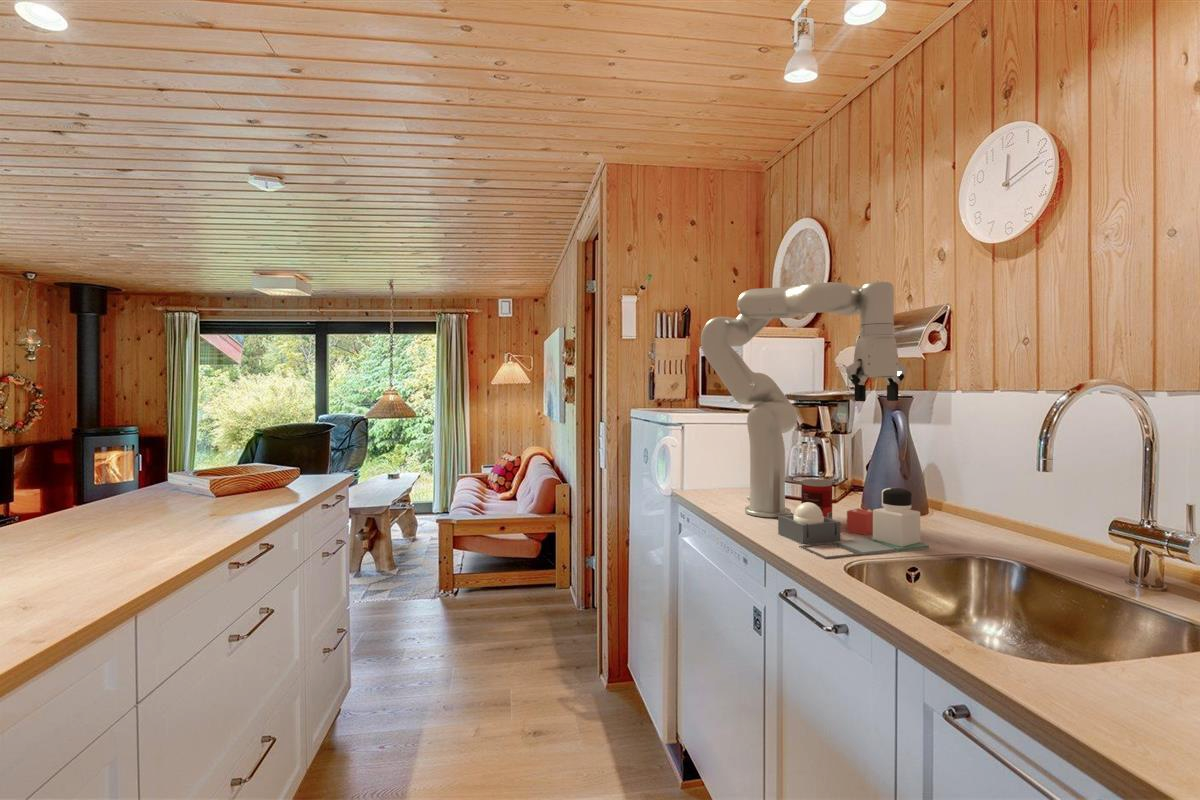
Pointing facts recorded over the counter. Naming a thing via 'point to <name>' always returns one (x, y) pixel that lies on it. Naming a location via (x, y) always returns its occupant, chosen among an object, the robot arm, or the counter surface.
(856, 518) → the red die
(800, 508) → the dome
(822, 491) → the canned food
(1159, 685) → the counter surface
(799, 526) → the base
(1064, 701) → the counter surface
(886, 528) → the medicine bottle
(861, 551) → the game board
